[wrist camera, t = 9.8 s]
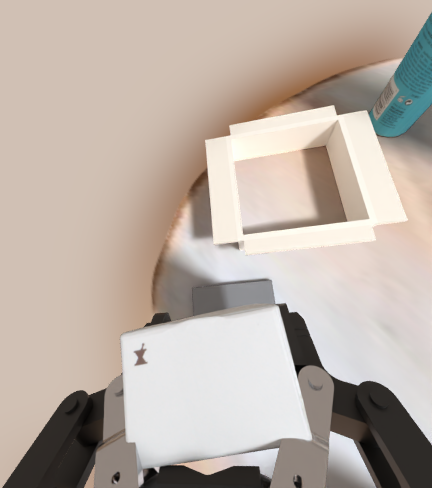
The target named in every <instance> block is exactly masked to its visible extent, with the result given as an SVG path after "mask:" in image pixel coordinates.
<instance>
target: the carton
mask: <svg viewBox="0 0 432 488" xmlns="http://www.w3.org/2000/svg"><path fill="white" fill-rule="evenodd" d="M230 134H231V135H230V136H225V137H220V138H215V139H209V140H205V142H206V154H207V167H208V179H209V192H210V204H211V216H212V228H213V241H214V245H218V244H226V243H234V242H238V244H239V249H240V251H241V250H245V254H246V255H255V254H263V253H272V252H281V251H290V250H299V249H307V248H316V247H325V246H334V245H343V244H351V243H360V242H369V241H375V240H376V238H375V234H374V231H373V227H374V226H376V225H382V224H390V223H398V222H406V221H408V220H407V217H406V214H405V212H404V209H403V206H402V204H401V201H400V198H399V195H398V193H397V190H396V187H395V185H394V182H393V179H392V177H391V174H390V171H389V169H388V166H387V163H386V160H385V158H384V155H383V152H382V150H381V147H380V144H379V142H378V139H377V136H376V133H375V131H374V128H373V125H372V123H371V120H370V117H369V115H368V112H367V110H363V111H358V112H353V113H347V114H342V115H337V114H336V111H335V107H334V105H332V106H327V107H322V108H317V109H312V110H306V111H301V112H296V113H291V114H286V115H281V116H276V117H270V118H265V119H260V120H255V121H250V122H245V123H239V124H234V125H230ZM320 146H326V148H327V151H328V155H329V159H330V162H331V166H332V169H333V173H334V176H335V180H336V183H337V187H338V191H339V194H340V198H341V201H342V205H343V208H344V212H345V215H346V219H347V222H342V223H334V224H326V225H318V226H310V227H302V228H294V229H286V230H278V231H270V232H262V233H254V234H246V235H243V230H242V222H241V214H240V206H239V198H238V190H237V182H236V174H235V166H234V161H238V160H244V159H250V158H256V157H262V156H268V155H273V154H279V153H285V152H291V151H297V150H303V149H308V148H314V147H320Z"/></svg>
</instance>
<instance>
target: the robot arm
mask: <svg viewBox="0 0 432 488" xmlns="http://www.w3.org/2000/svg"><path fill="white" fill-rule="evenodd" d="M275 305H277V306H279V309H280V313H281V317H282V321H283V324H284V328H285V332H286V336H287V340H288V344H289V347H290V351H291V355H292V359H293V363H294V367H295V371H296V375H297V379H298V383H299V387H300V391H301V395H302V399H303V403H304V407H305V411H306V415H307V419H308V423H309V427H310V431H311V435H312V440H305V439H298V438H282V439H281V443H280V447H279V452H278V456H277V460H276V464H275V468H274V472H273V477H272V479H270V478H269V477H267V476H265V475H262V474H260V468H259V466H233V467H230V468H227V469H225V470H222V471H219V472H216V473H214V474H211V475H204V474H202V473H200V472H197V471H195V470H193V469H190V468H188V467H186V466H183V465H167V466H160V467H153V468H146V469H142V465H141V462H140V458H139V454H138V450H137V447H136V443H135V442H129V443H128V442H126V433H125V411H124V390H123V372H122V374H121V375H120V376H118V377H116V378H115V379H114V380H113V381H112V382H111V383H110V384H109V386H108V387H107V388H106V389H104V390H101V391H99V392H96V393H93V394H91V395H88V394H87V393H86V392H85V391H83V390H80V391H76V392H74V393H72V394H70V395H69V396H68V397H66V398H65V399H64V400H63V401H62V403H61V404H60V405H59V407H58V408H57V410H56V411H55V413H54V414H53V415H52V417H51V418H50V420H49V421H48V423H47V424H46V425H45V427H44V429H43V430H42V431H41V433H40V434H39V436H38V437H37V438H36V440H35V441H34V443H33V444H32V446H31V447H30V449H29V450H28V451H27V453H26V454H25V456H24V457H23V459H22V460H21V461H20V463H19V464H18V466H17V467H16V469H15V470H14V472H13V473H12V474H11V476H10V477H9V479H8V480H7V482H6V483H5V485H4V486H3V488H84V486H85V484H86V482H87V480H88V477H89V475H90V473H91V471H92V469H93V467H94V465H95V476H94V488H325V486H326V475H327V465H328V454H329V435H330V431H332V432H335V433H338V434H340V435H343V436H346V437H348V438H351V439H353V440H354V442H355V444H356V446H357V449H358V451H359V453H360V455H361V457H362V459H363V461H364V463H365V465H366V467H367V469H368V471H369V473H370V475H371V477H372V479H373V481H374V483H375V485H376V487H377V488H432V445H431V443H430V442H429V441H428V439H427V438H426V437H425V435H424V434H423V432H422V431H421V430H420V428H419V427H418V426H417V424H416V423H415V422H414V420H413V419H412V418H411V416H410V415H409V413H408V412H407V411H406V409H405V408H404V407H403V405H402V404H401V403H400V401H399V400H398V399H397V397H396V396H395V395H394V394H393V393H392V392H391V391H390V390H389V389H388V388H386V387H385V386H383V385H381V384H379V383H377V382H373V381H365V382H362V383H361V384H360V385H359V386H358V385H354V384H350V383H347V382H343V381H340V380H338V379H336V378H334V377H333V376H331V375H330V374H329V373H328V372H327V371H326V370H325V369H324V367H323V366H322V364H321V361H320V359H319V356H318V354H317V351H316V349H315V346H314V344H313V341H312V339H311V337H310V334H309V331H308V329H307V326H306V324H305V321H304V319H303V318H302V317H301V316H300V315H299V314H298V313H297V312H292V313H289V311H288V308H287V305H286V303H284V304H275ZM166 322H171V319H170V316H169V314H168V313H157V314H155V315H154V316H153V319H152V321H151V323H147V324H146V325H145V326H144V327H148V326H152V325H157V324H162V323H166ZM74 439H75V440H74ZM70 446H71V447H70ZM66 453H67V454H66ZM62 460H63V461H62ZM58 467H59V468H58Z"/></svg>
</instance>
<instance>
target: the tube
mask: <svg viewBox="0 0 432 488" xmlns="http://www.w3.org/2000/svg"><path fill="white" fill-rule="evenodd" d="M431 104H432V13H431V14H430V16H429V18H428V19H427V21H426V23H425V24H424V26H423V28H422V29H421V31H420V32H419V34H418V36H417V37H416V39H415V40H414V42H413V44H412V45H411V47H410V49H409V50H408V52H407V53H406V55H405V57H404V58H403V60H402V62H401V63H400V65H399V67H398V68H397V70H396V71H395V73H394V75H393V76H392V78H391V79H390V81H389V83H388V84H387V86H386V88H385V89H384V91H383V92H382V94H381V96H380V97H379V99H378V100H377V102H376V104H375V105H374V107H373V109H372V110H371V112H370V114H369V117H370V120H371V123H372V125H373V128H374V131H375V133H376V134H378V135H381V136H386V137H395V136H399V135H401V134H403V133H405V132H406V131H407V130H408V129H409V128H410V127H411V126H412V125H413V124H414V123H415V122H416V120H417V119H418V118H419V117H420V116H421V115H422V114H423V113H424V112H425V111H426V110H427V109H428V108H429V107H430V105H431Z"/></svg>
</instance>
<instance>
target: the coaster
mask: <svg viewBox="0 0 432 488" xmlns="http://www.w3.org/2000/svg"><path fill="white" fill-rule="evenodd" d="M192 292H193V313H194V316H197V315H201V314H206V313H210V312H215V311H220V310H224V309H229V308H234V307H239V306H245V305H251V304H275V299H274V292H273V286H272V280H268V281H258V282H248V283H237V284H227V285H217V286H206V287H196V288H192Z"/></svg>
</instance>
